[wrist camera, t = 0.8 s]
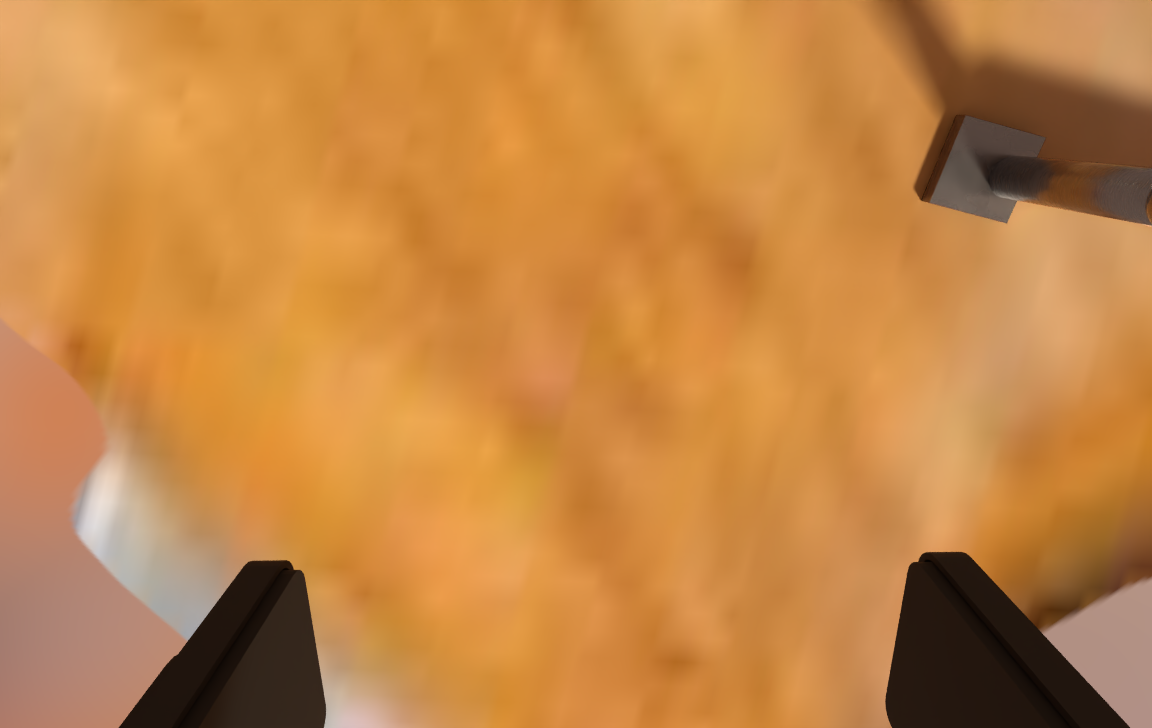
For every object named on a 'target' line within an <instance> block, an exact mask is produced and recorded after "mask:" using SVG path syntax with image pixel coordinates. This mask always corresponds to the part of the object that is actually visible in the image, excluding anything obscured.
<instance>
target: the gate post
mask: <svg viewBox="0 0 1152 728" xmlns="http://www.w3.org/2000/svg"><path fill="white" fill-rule="evenodd" d="M1044 141H1045V137H1042V136H1038V135H1035V134H1031V133H1027V132H1024V131H1020V130H1017V129H1013V128H1009V127H1006V126H1002V125H999V124H995V123H992V122H988V121H984V120H981V119H977V118H974V117H970V116H967V115H956V118H955V120H954V122H953V125H952V127H951V130H950V132H949V135H948V137H947V139H946V142H945V144H944V147H943V149H942V152H941V154H940V156H939V159H938V161H937V164H936V166H935V169H934V171H933V173H932V176H931V178H930V181H929V183H928V186H927V188H926V190H925V193H924V195H923V198H922V200H921V201H924V202H928V203H932V204H935V205H939V206H943V207H947V208H951V209H954V210H958V211H962V212H966V213H969V214H973V215H977V216H981V217H984V218H988V219H992V220H996V221H1000V222H1004V223H1007V222H1008V219H1009V217H1010V215H1011V213H1012V211H1013V208H1014V206H1015V204H1016V202H1017V201H1023V202H1028V203H1033V204H1039V205H1044V206H1049V207H1055V208H1060V209H1065V210H1071V211H1076V212H1081V213H1087V214H1092V215H1097V216H1103V217H1108V218H1113V219H1119V220H1124V221H1129V222H1135V223H1140V224H1145V225H1151V226H1152V168H1151V167H1139V166H1128V165H1117V164H1105V163H1094V162H1082V161H1071V160H1060V159H1048V158H1037V156H1038V154H1039V152H1040V149H1041V147H1042V145H1043V143H1044Z"/></svg>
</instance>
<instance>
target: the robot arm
mask: <svg viewBox="0 0 1152 728" xmlns="http://www.w3.org/2000/svg"><path fill="white" fill-rule="evenodd" d="M885 702H886V711H887V716H888V719H889V722H890V724H891V726H892V728H1130V727H1129V726H1128V725H1127V724H1126V723H1125V722H1124V720H1123V719H1122V718H1121V717H1120V716H1119V715H1118V714H1117V713H1116V712H1115V711H1114V710H1113V709H1112V708H1111V707H1110V706H1109V704H1107V702H1106V701H1105V700H1104V699H1103V698H1102V697H1101V696H1100V695H1099V694H1098V693H1097V692H1096V691H1095V690H1094V688H1093V687H1092V686H1091V685H1090V684H1089V683H1088V682H1087V681H1086V680H1085V679H1084V678H1083V677H1082V676H1081V675H1080V673H1079V672H1078V671H1077V670H1076V669H1075V668H1074V667H1073V666H1072V665H1071V664H1070V663H1069V662H1068V661H1067V660H1066V658H1065V657H1064V656H1063V655H1062V654H1061V653H1060V652H1059V651H1058V650H1057V649H1056V648H1055V647H1054V646H1053V645H1052V644H1051V642H1050V641H1049V640H1048V639H1047V638H1046V637H1045V636H1044V635H1043V634H1042V633H1041V632H1040V631H1039V630H1038V629H1037V628H1036V626H1035V625H1034V624H1033V623H1032V622H1031V621H1030V620H1029V619H1028V618H1027V617H1026V616H1025V615H1024V614H1023V613H1022V611H1021V610H1020V609H1019V608H1018V607H1017V606H1016V605H1015V604H1014V603H1013V602H1012V601H1011V600H1010V599H1009V598H1008V597H1007V595H1006V594H1005V593H1004V592H1003V591H1002V590H1001V589H1000V588H999V587H998V586H997V585H996V584H995V583H994V582H993V580H992V579H991V578H990V577H989V576H988V575H987V574H986V573H985V572H984V571H983V570H982V569H981V568H980V567H979V566H978V564H977V563H976V562H975V561H974V560H973V559H972V558H971V557H970V556H969V555H967V554H966V553H963V552H926V553H924V554H922V555H921V557H920V558H919V561H918V562H913V563H911V565H910V566H909V569H908V573H907V579H906V584H905V590H904V596H903V601H902V607H901V613H900V619H899V624H898V630H897V636H896V641H895V647H894V653H893V658H892V664H891V670H890V676H889V681H888V687H887V693H886V701H885ZM325 717H326V704H325V698H324V691H323V685H322V679H321V673H320V667H319V661H318V655H317V649H316V643H315V637H314V631H313V625H312V618H311V612H310V606H309V600H308V594H307V588H306V582H305V577H304V574H303V572H302V571H301V570H294V569H293V566H292V564H291V563H290V562H289V561H287V560H280V561H250V562H248V563H247V564H246V565H245V566H244V567H243V568H242V570H241V571H240V572H239V574H238V575H237V576H236V578H235V579H234V580H233V582H232V583H231V584H230V586H229V587H228V588H227V590H226V591H225V592H224V594H223V595H222V596H221V598H220V599H219V600H218V602H217V603H216V604H215V606H214V607H213V608H212V610H211V611H210V612H209V614H208V615H207V616H206V618H205V619H204V620H203V622H202V623H201V624H200V626H199V627H198V628H197V630H196V631H195V632H194V634H193V635H192V636H191V638H190V639H189V640H188V642H187V643H186V644H185V646H184V647H183V648H182V650H181V651H180V652H179V654H178V655H176V656H174V657H173V658H172V659H171V660H170V661H169V663H168V664H167V665H166V666H165V667H164V668H163V670H162V671H161V672H160V674H159V675H158V677H157V678H156V679H155V680H154V682H153V683H152V685H151V686H150V687H149V688H148V690H147V691H146V692H145V694H144V695H143V696H142V698H141V699H140V700H139V702H138V703H137V704H136V706H135V707H134V708H133V710H132V711H131V712H130V713H129V715H128V716H127V717H126V719H125V720H124V721H123V723H122V724H121V726H120V727H119V728H324V724H325Z"/></svg>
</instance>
